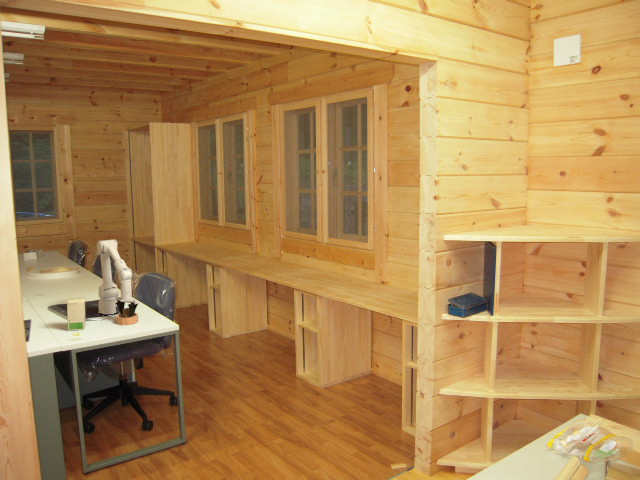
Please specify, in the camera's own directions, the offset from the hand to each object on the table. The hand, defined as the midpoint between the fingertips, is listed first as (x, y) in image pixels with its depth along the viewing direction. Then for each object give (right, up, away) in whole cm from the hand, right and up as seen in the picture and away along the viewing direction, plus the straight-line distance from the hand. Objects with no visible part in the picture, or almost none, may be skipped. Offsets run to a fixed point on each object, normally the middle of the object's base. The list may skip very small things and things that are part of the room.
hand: (127, 314), depth 303 cm
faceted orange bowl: (0, -4, +1) cm, 4 cm away
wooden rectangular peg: (0, -3, 0) cm, 3 cm away
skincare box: (-23, -6, -12) cm, 26 cm away
